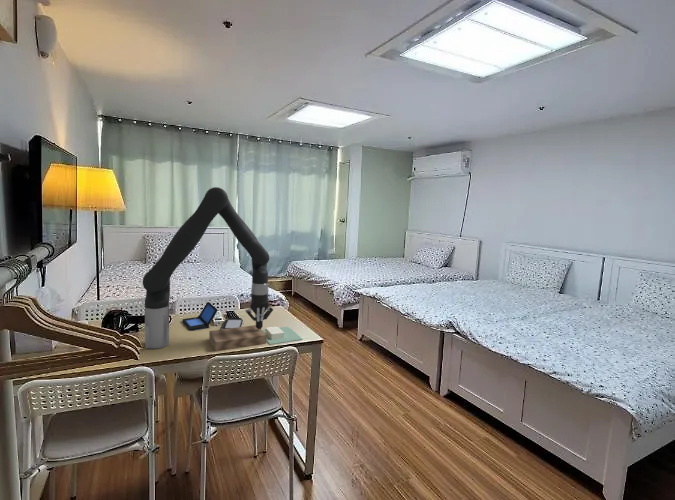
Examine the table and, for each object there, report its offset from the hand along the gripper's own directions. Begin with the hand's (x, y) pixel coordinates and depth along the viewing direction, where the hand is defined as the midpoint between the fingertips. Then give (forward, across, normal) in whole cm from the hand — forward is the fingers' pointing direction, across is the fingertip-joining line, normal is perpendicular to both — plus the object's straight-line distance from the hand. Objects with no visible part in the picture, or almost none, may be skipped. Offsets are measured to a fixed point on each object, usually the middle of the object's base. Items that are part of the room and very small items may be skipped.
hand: (259, 328), depth 170 cm
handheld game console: (+5, -21, +29) cm, 37 cm away
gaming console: (+5, -7, +19) cm, 21 cm away
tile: (+3, +8, 0) cm, 8 cm away
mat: (+5, +10, 0) cm, 11 cm away
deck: (+5, -10, 0) cm, 11 cm away
